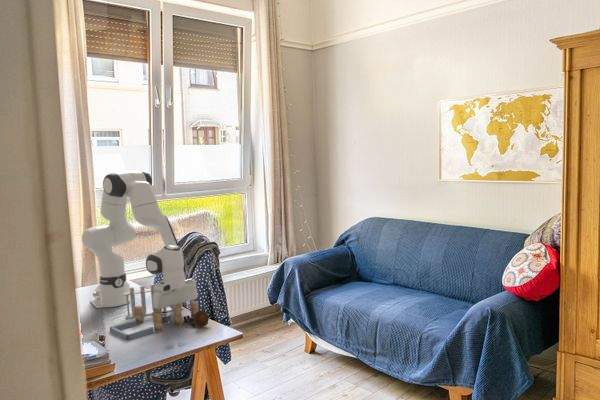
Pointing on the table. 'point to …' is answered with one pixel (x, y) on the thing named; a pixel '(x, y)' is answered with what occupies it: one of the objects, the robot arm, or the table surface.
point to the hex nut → (165, 317)
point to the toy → (198, 319)
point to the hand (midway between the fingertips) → (177, 313)
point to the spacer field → (158, 317)
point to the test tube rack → (142, 291)
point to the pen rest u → (118, 332)
